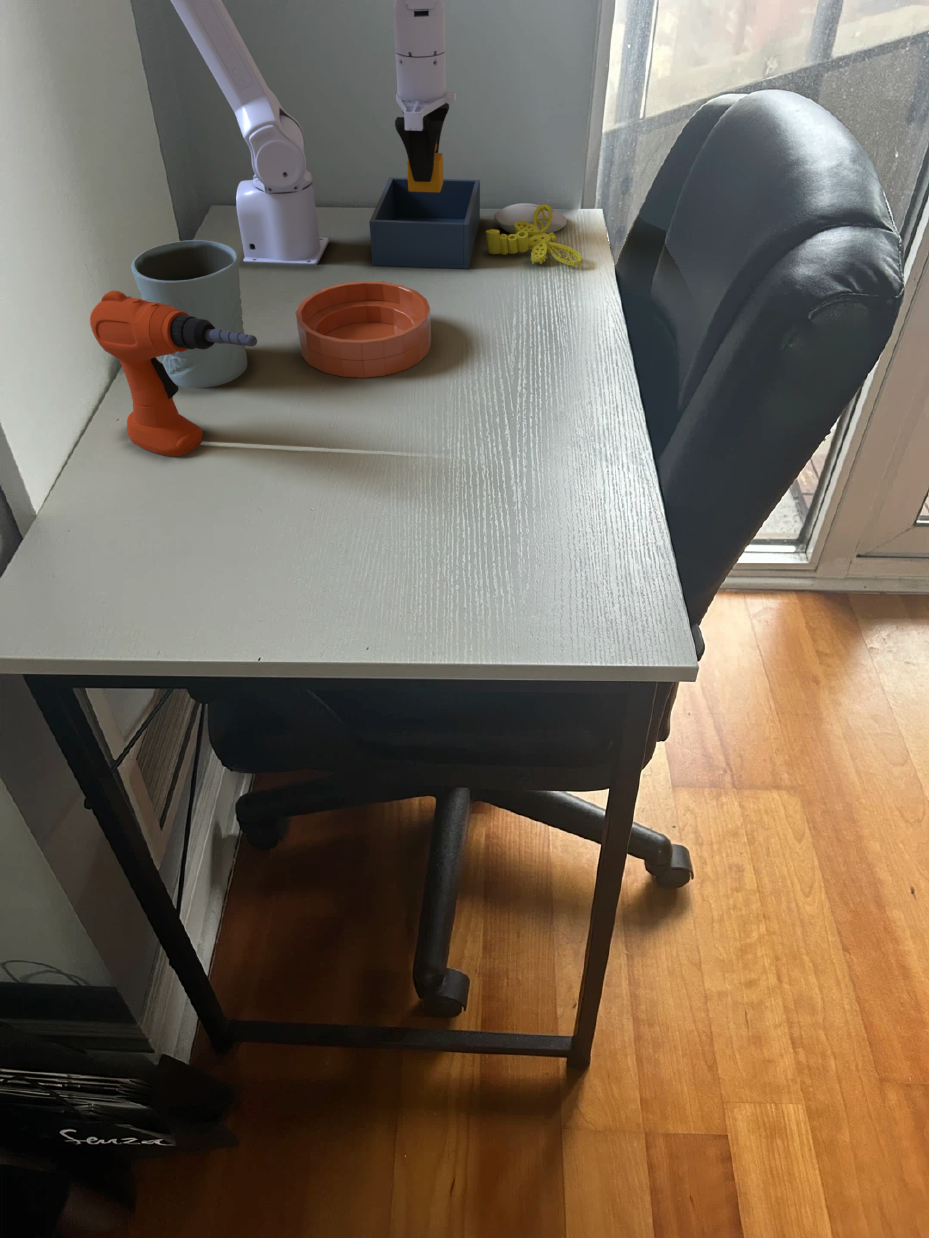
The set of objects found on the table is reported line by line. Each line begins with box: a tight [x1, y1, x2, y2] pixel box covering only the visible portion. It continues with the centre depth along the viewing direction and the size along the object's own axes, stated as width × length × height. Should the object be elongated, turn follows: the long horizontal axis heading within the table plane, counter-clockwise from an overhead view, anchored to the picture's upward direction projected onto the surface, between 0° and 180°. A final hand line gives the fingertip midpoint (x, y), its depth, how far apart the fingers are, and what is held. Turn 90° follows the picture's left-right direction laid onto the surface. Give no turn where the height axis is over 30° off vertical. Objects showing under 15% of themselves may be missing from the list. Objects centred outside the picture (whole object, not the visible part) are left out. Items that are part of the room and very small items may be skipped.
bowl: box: [294, 280, 432, 379], centre depth 102 cm, size 14×14×4 cm
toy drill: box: [89, 289, 258, 457], centre depth 84 cm, size 5×19×15 cm, turn 62°
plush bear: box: [406, 143, 444, 193], centre depth 116 cm, size 4×3×7 cm
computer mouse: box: [493, 202, 568, 234], centre depth 126 cm, size 6×10×3 cm, turn 104°
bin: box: [368, 176, 481, 270], centre depth 122 cm, size 12×15×6 cm
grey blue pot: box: [130, 239, 248, 389], centre depth 96 cm, size 10×10×12 cm
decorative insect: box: [485, 203, 583, 267], centre depth 119 cm, size 13×3×10 cm
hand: (424, 175), depth 117 cm, fingers closed on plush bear, 3 cm apart
